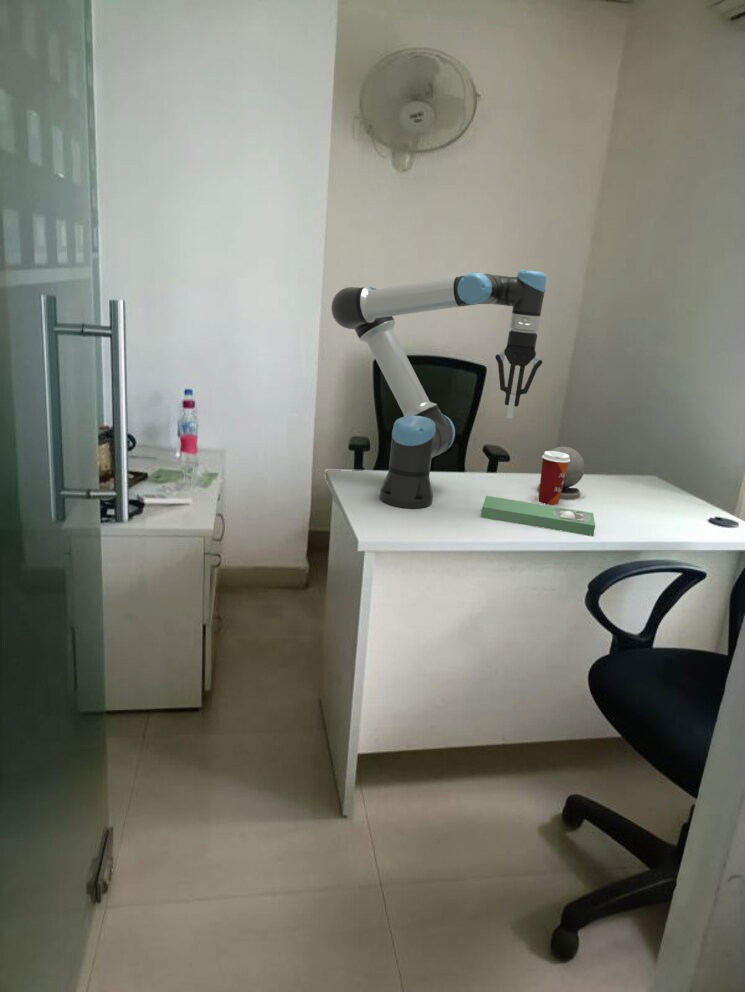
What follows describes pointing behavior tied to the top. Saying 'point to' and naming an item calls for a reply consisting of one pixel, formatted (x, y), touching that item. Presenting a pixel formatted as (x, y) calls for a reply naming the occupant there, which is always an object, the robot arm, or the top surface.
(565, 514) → the ball
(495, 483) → the top surface
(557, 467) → the coffee cup
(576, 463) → the webcam
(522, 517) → the putting strip
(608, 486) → the top surface
